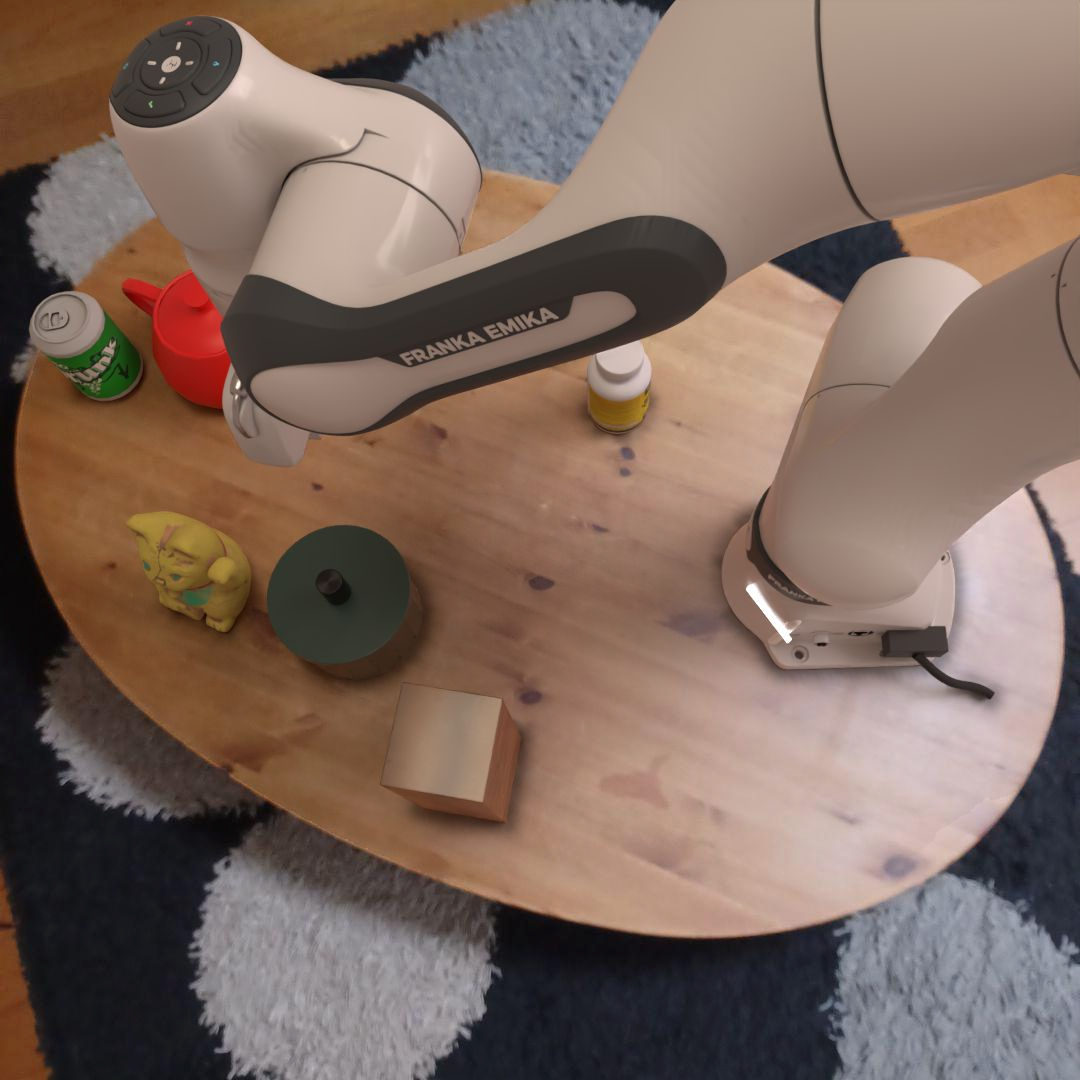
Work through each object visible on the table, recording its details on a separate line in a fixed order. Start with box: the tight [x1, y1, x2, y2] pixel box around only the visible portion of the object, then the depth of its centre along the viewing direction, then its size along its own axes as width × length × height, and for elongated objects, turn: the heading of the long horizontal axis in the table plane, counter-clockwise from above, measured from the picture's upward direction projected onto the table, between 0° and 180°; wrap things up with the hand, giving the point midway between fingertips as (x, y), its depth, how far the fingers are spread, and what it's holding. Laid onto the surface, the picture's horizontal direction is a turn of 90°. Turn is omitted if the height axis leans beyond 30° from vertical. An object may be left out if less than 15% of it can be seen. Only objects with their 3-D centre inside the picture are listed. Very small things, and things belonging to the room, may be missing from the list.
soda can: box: [28, 290, 144, 402], centre depth 107 cm, size 8×8×12 cm
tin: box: [313, 577, 424, 681], centre depth 97 cm, size 12×12×8 cm
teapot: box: [121, 269, 231, 410], centre depth 106 cm, size 25×16×12 cm, turn 64°
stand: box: [379, 681, 522, 823], centre depth 86 cm, size 8×8×20 cm
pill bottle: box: [586, 340, 653, 435], centre depth 102 cm, size 6×6×12 cm
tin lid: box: [266, 524, 412, 666], centre depth 92 cm, size 13×13×5 cm
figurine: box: [124, 510, 252, 633], centre depth 96 cm, size 11×9×15 cm
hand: (328, 373), depth 75 cm, fingers open, 8 cm apart
